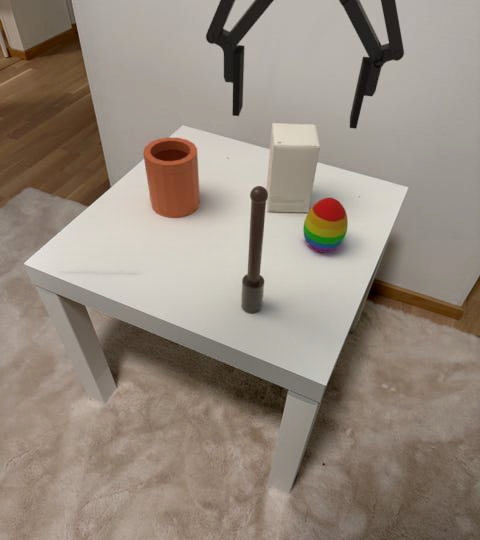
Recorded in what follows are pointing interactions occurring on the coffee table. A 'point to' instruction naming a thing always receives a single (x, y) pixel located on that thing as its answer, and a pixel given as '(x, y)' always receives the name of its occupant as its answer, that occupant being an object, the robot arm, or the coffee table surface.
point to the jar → (172, 176)
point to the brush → (255, 253)
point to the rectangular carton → (292, 167)
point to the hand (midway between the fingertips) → (294, 117)
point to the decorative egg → (325, 225)
